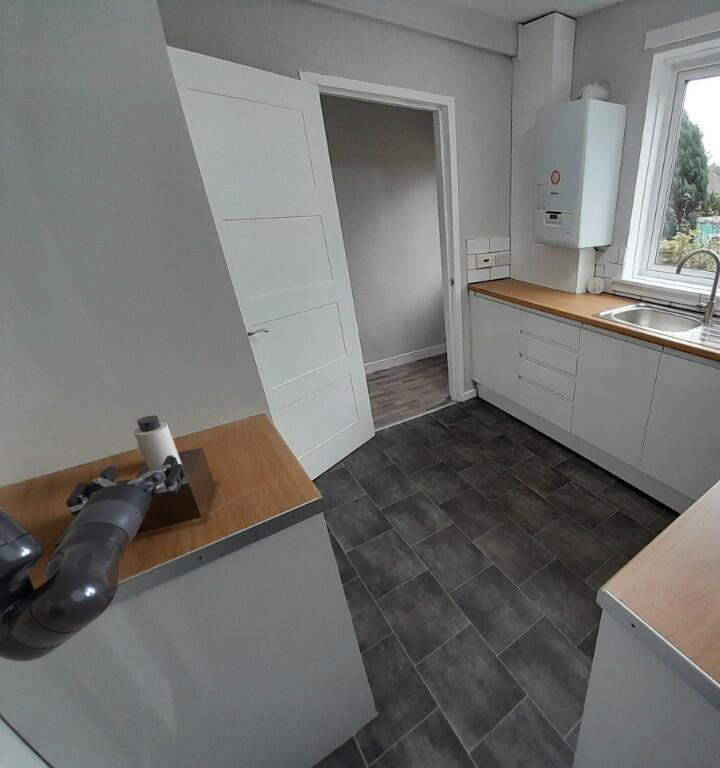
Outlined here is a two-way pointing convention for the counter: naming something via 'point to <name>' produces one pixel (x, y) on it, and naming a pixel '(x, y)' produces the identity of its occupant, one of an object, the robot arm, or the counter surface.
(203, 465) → the stepped wooden block
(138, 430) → the white bottle
